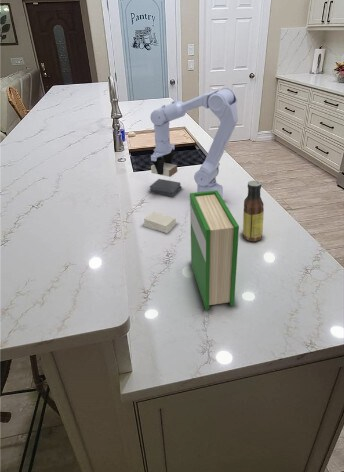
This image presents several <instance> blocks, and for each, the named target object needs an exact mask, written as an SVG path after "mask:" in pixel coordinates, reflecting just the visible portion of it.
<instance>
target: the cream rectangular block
mask: <svg viewBox="0 0 344 472" xmlns="http://www.w3.org/2000/svg"><path fill="white" fill-rule="evenodd" d="M143 221H144V222H143V227H145V228H149V229H151V230H154V231H159V232H161V233H165V234H168V233H169V232H170V231H171V230H172V229H173V228H175V226H176V224H177V223H176V218H175V217H172V216H169V215H167V214H163V213H160V212H156V211H152V213H150V214H149V215H147V216H146V217H145V218H144V219H143Z"/></svg>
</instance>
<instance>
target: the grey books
mask: <svg viewBox="0 0 344 472" xmlns="http://www.w3.org/2000/svg"><path fill="white" fill-rule="evenodd" d="M181 185H182V184H181V182H180V181H174V180H168V179H162V178H158V179H157V180H156V181H154V182H153V183H152V184H151V185H150V186H149V192H150V193H151V194H156V195H161V196H164V197H168V198H169V197H170V198H174V197H175V196H176V195H177V194H178V193H179V192H181V191H182V189H183V186H181Z"/></svg>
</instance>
